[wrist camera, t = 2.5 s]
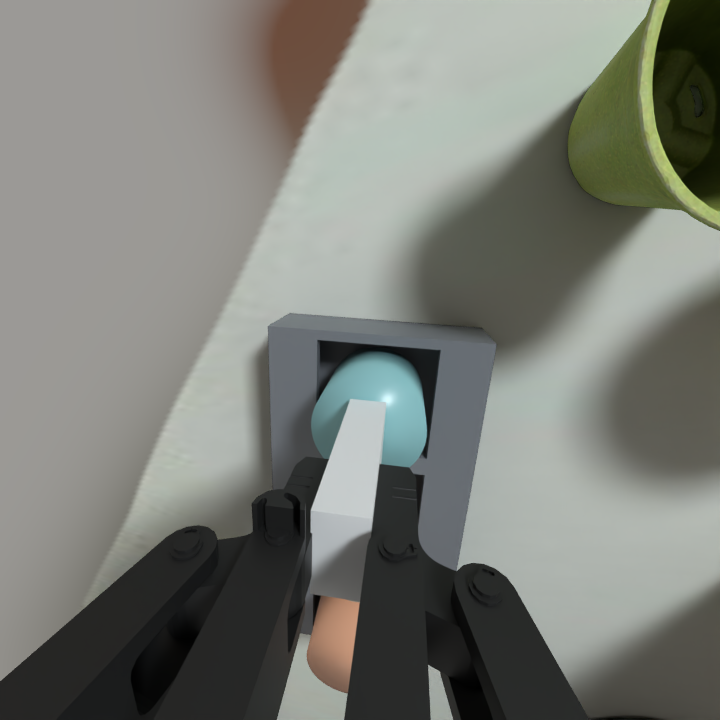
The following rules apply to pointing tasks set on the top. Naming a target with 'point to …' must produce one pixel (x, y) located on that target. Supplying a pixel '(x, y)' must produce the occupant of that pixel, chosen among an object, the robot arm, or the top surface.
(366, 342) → the egg display tray
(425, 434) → the teal egg
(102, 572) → the top surface
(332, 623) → the terracotta egg
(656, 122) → the plant pot
